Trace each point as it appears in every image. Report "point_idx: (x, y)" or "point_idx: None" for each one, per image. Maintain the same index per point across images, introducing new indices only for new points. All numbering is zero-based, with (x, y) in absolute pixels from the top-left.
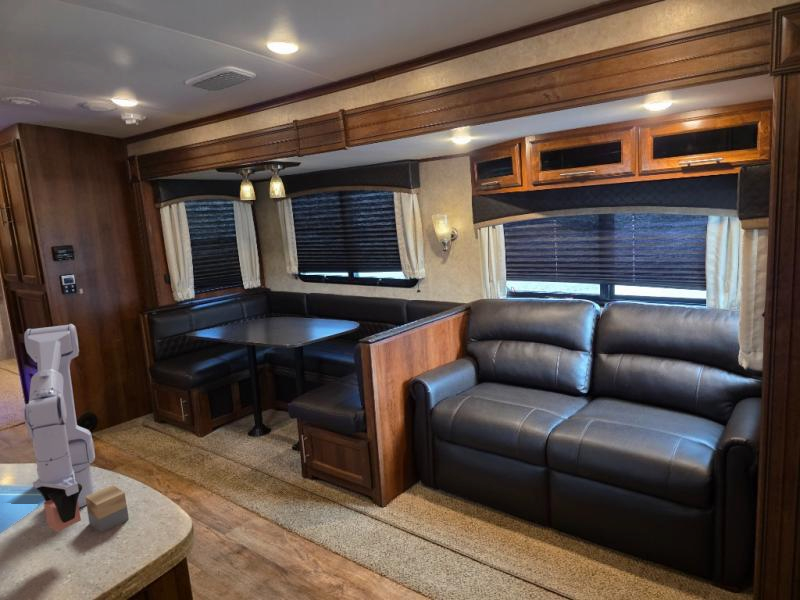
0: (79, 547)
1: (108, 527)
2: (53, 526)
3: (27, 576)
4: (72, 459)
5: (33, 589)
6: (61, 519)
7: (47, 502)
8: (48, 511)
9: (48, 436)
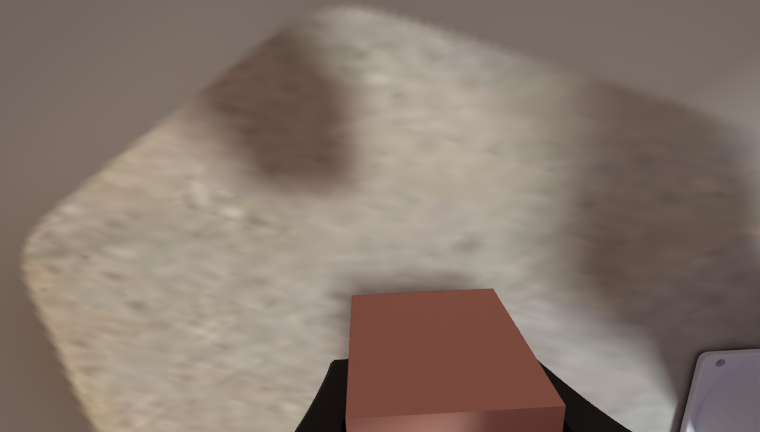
0: None
1: None
2: (398, 304)
3: (376, 98)
4: None
5: (252, 84)
6: (340, 371)
7: (528, 423)
8: (462, 364)
9: None
